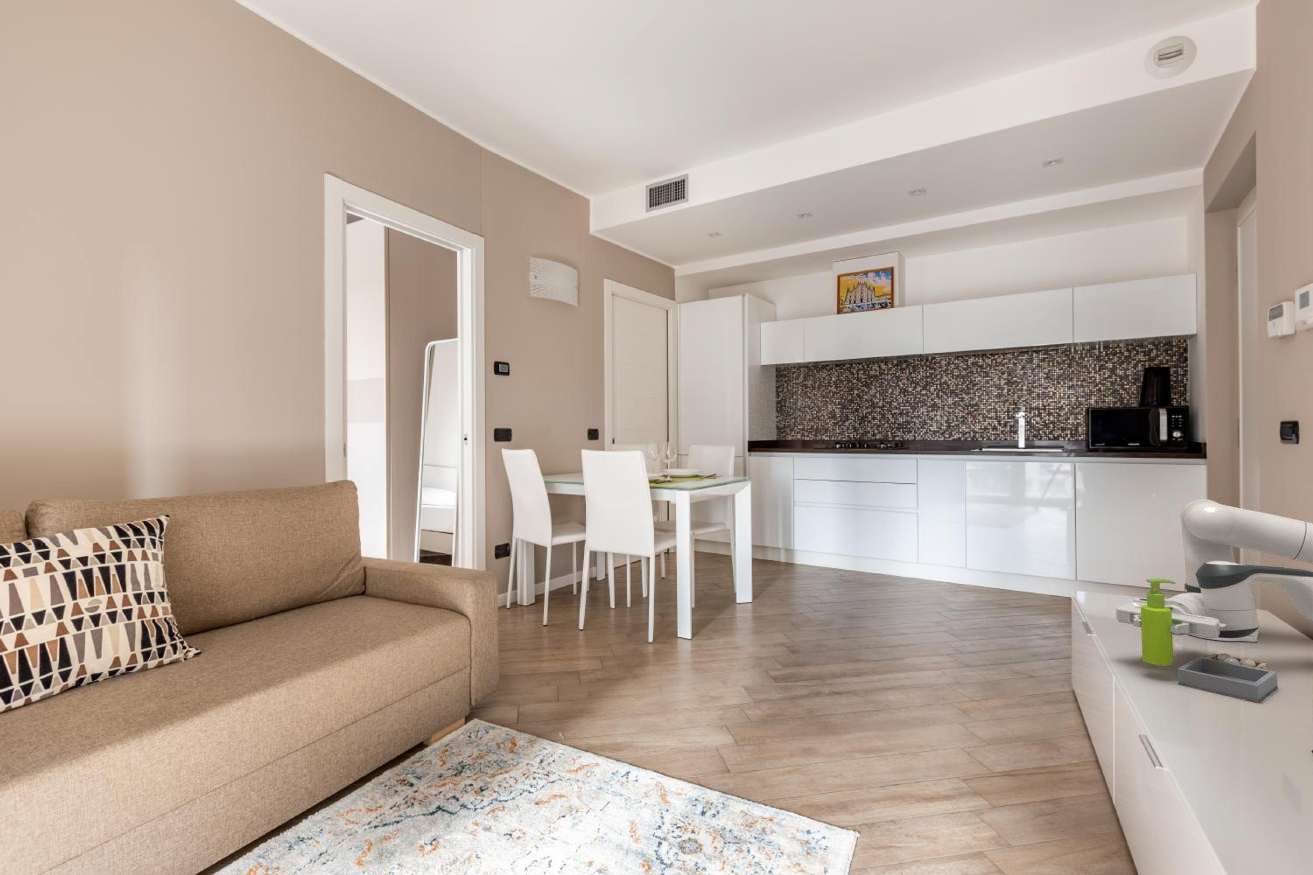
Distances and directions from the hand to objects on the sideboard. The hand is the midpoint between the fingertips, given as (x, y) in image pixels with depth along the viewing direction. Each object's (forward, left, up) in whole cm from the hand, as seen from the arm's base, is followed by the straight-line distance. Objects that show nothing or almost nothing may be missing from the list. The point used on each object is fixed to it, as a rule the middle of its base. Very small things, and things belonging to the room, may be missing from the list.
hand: (1154, 626), depth 153 cm
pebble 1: (-20, +7, -10) cm, 24 cm away
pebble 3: (-20, +12, -10) cm, 25 cm away
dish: (-6, +11, -12) cm, 18 cm away
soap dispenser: (-1, 0, -9) cm, 9 cm away
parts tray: (-19, +9, -12) cm, 24 cm away
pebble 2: (-17, +9, -10) cm, 22 cm away
